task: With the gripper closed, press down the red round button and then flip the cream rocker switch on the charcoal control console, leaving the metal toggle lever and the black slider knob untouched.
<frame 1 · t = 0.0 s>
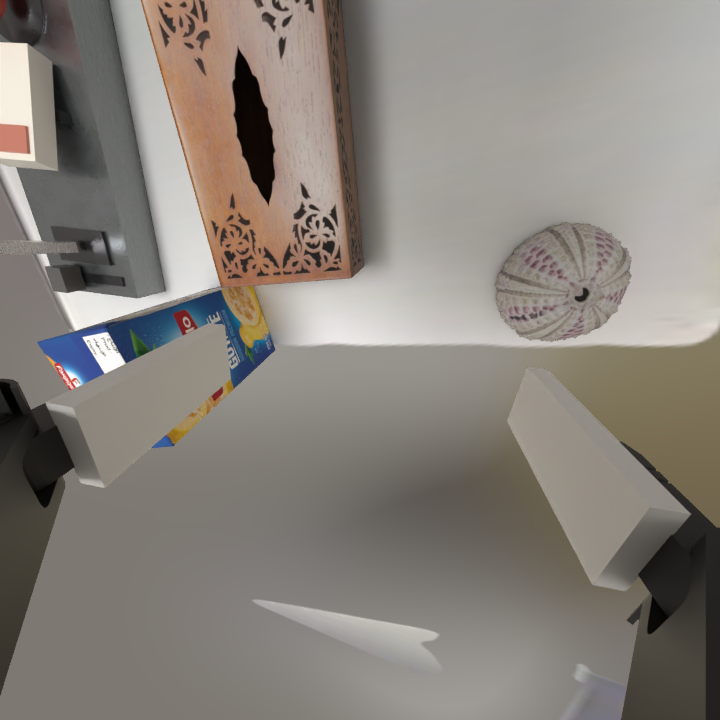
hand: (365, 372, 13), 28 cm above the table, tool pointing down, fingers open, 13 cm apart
console: (98, 160, 37), on the table
toggle: (18, 247, 32), point 11 cm above the table, hinge at 20.0°
rocker: (15, 108, 29), point 8 cm above the table, hinge at -15.0°
beverage box: (244, 319, 44), on the table
slider: (66, 278, 37), point 7 cm above the table, slide at -2.0 cm
sea urchin shell: (546, 282, 36), on the table
tissue box cover: (294, 158, 35), on the table
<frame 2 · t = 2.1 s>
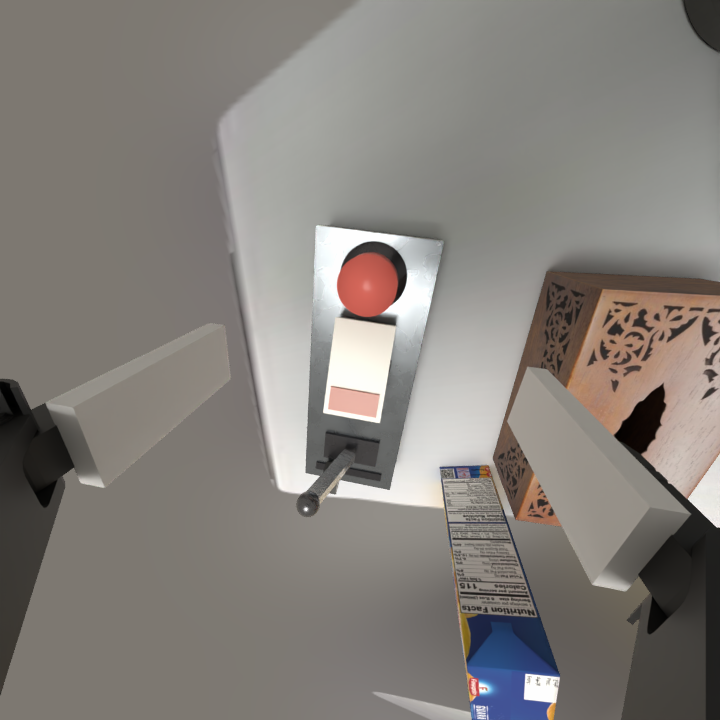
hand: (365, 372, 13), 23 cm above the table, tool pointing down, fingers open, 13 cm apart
console: (365, 364, 38), on the table
toggle: (328, 480, 33), point 11 cm above the table, hinge at 20.0°
rocker: (359, 369, 30), point 8 cm above the table, hinge at -15.0°
beverage box: (465, 491, 45), on the table
button: (368, 284, 25), point 9 cm above the table, slide at 0.0 cm
slider: (331, 477, 38), point 7 cm above the table, slide at -2.0 cm
tissue box cover: (576, 382, 36), on the table
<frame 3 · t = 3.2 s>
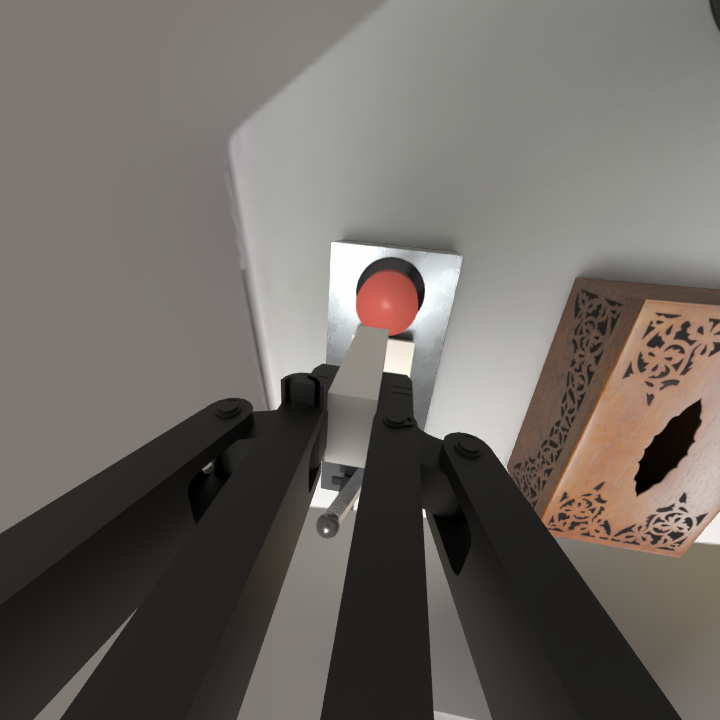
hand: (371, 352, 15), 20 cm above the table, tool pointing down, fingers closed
console: (380, 377, 38), on the table
toggle: (346, 498, 32), point 11 cm above the table, hinge at 20.0°
rocker: (377, 386, 29), point 8 cm above the table, hinge at -15.0°
button: (387, 302, 25), point 9 cm above the table, slide at 0.0 cm
slider: (347, 493, 38), point 7 cm above the table, slide at -2.0 cm
tissue box cover: (597, 392, 35), on the table
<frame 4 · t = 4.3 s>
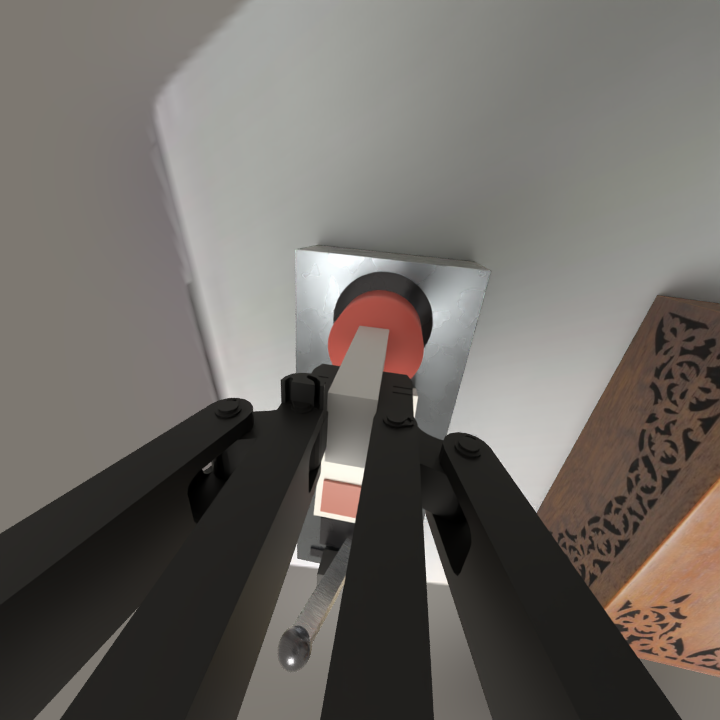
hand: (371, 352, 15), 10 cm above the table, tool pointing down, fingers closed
console: (371, 422, 29), on the table
toggle: (324, 597, 24), point 11 cm above the table, hinge at 20.0°
rocker: (364, 453, 21), point 8 cm above the table, hinge at -15.0°
button: (377, 339, 16), point 8 cm above the table, slide at 0.5 cm, touching gripper
slider: (329, 572, 29), point 7 cm above the table, slide at -2.0 cm
tissue box cover: (660, 447, 26), on the table
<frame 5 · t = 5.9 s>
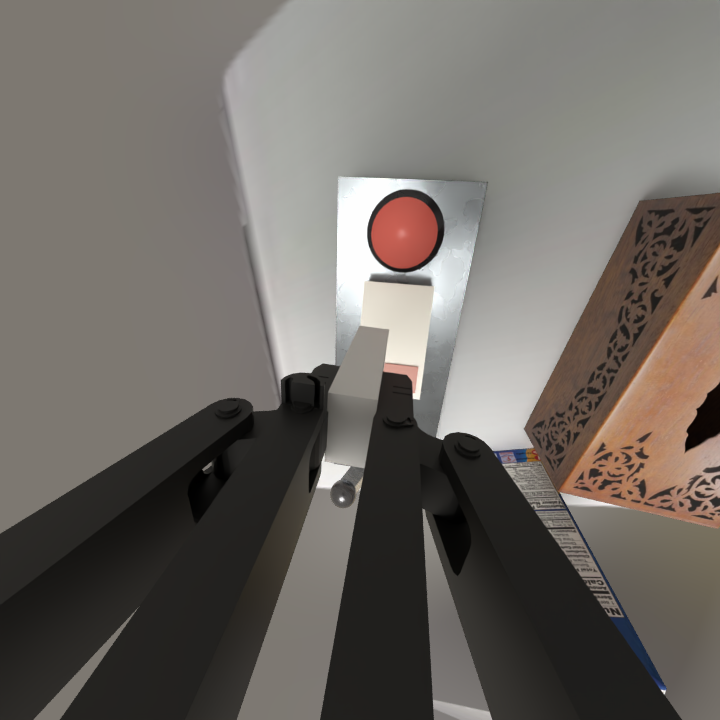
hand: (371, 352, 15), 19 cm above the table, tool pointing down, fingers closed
console: (394, 340, 35), on the table
toggle: (362, 467, 30), point 11 cm above the table, hinge at 20.0°
rocker: (392, 340, 27), point 8 cm above the table, hinge at -15.0°
beverage box: (508, 478, 41), on the table
button: (404, 233, 24), point 7 cm above the table, slide at 1.9 cm
tissue box cover: (638, 347, 31), on the table
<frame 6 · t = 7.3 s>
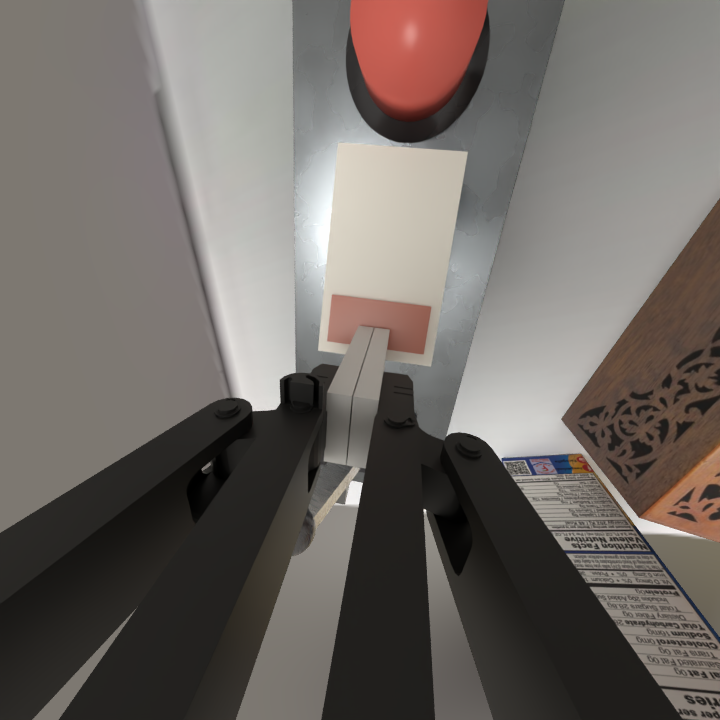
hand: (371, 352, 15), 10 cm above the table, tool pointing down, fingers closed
console: (388, 290, 23), on the table
toggle: (331, 481, 18), point 11 cm above the table, hinge at 20.0°
rocker: (387, 262, 15), point 8 cm above the table, hinge at -14.8°, touching gripper
beverage box: (538, 494, 30), on the table
button: (415, 34, 12), point 7 cm above the table, slide at 1.9 cm
slider: (336, 476, 24), point 7 cm above the table, slide at -2.0 cm
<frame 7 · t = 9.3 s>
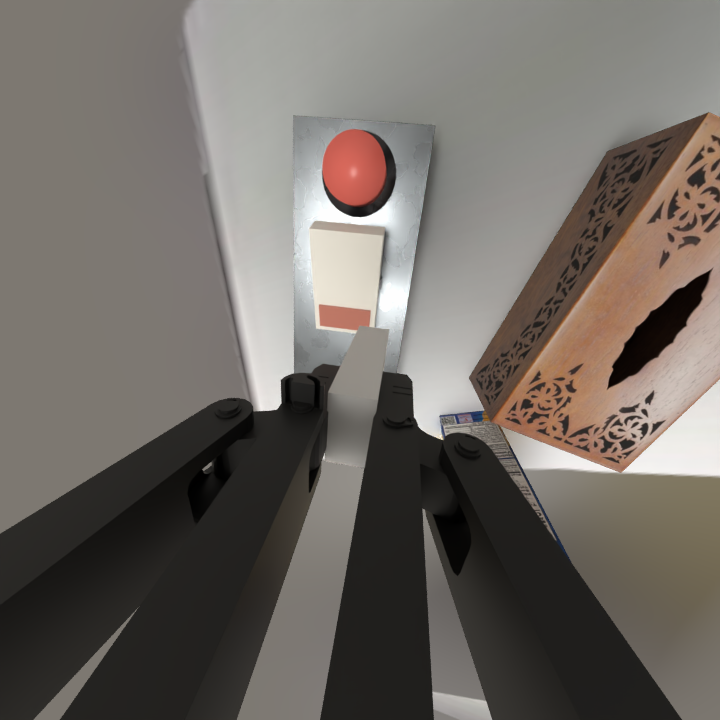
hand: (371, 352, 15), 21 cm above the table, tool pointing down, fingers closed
console: (355, 298, 35), on the table
rocker: (346, 283, 27), point 8 cm above the table, hinge at 19.0°
beverage box: (467, 443, 42), on the table
button: (356, 172, 24), point 7 cm above the table, slide at 1.9 cm
tissue box cover: (582, 306, 33), on the table
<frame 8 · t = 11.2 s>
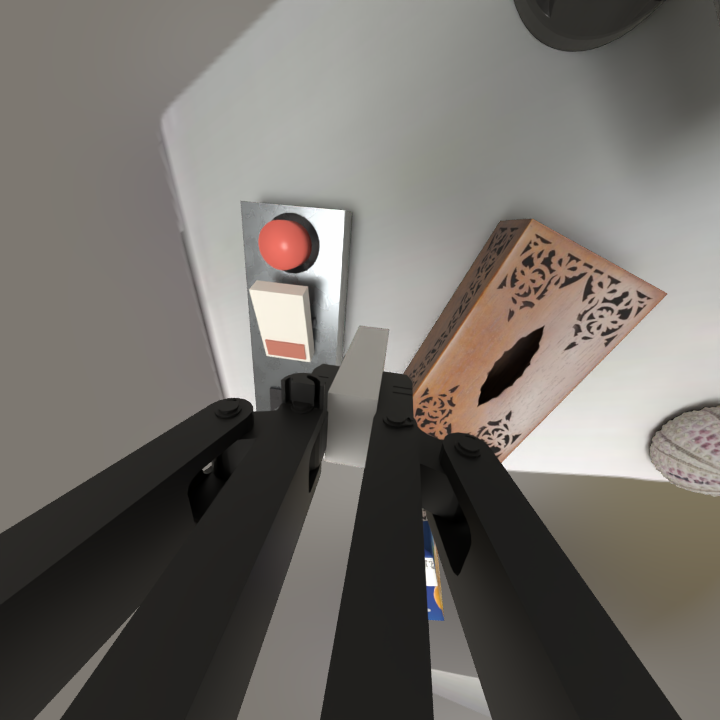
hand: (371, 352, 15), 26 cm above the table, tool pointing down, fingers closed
console: (304, 328, 44), on the table
toggle: (266, 423, 38), point 11 cm above the table, hinge at 20.0°
rocker: (285, 324, 35), point 8 cm above the table, hinge at 19.5°, touching console
beverage box: (405, 445, 50), on the table
button: (286, 245, 32), point 7 cm above the table, slide at 1.9 cm
sea urchin shell: (693, 436, 42), on the table
tissue box cover: (485, 337, 41), on the table
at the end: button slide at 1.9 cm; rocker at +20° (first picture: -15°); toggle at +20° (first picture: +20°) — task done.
